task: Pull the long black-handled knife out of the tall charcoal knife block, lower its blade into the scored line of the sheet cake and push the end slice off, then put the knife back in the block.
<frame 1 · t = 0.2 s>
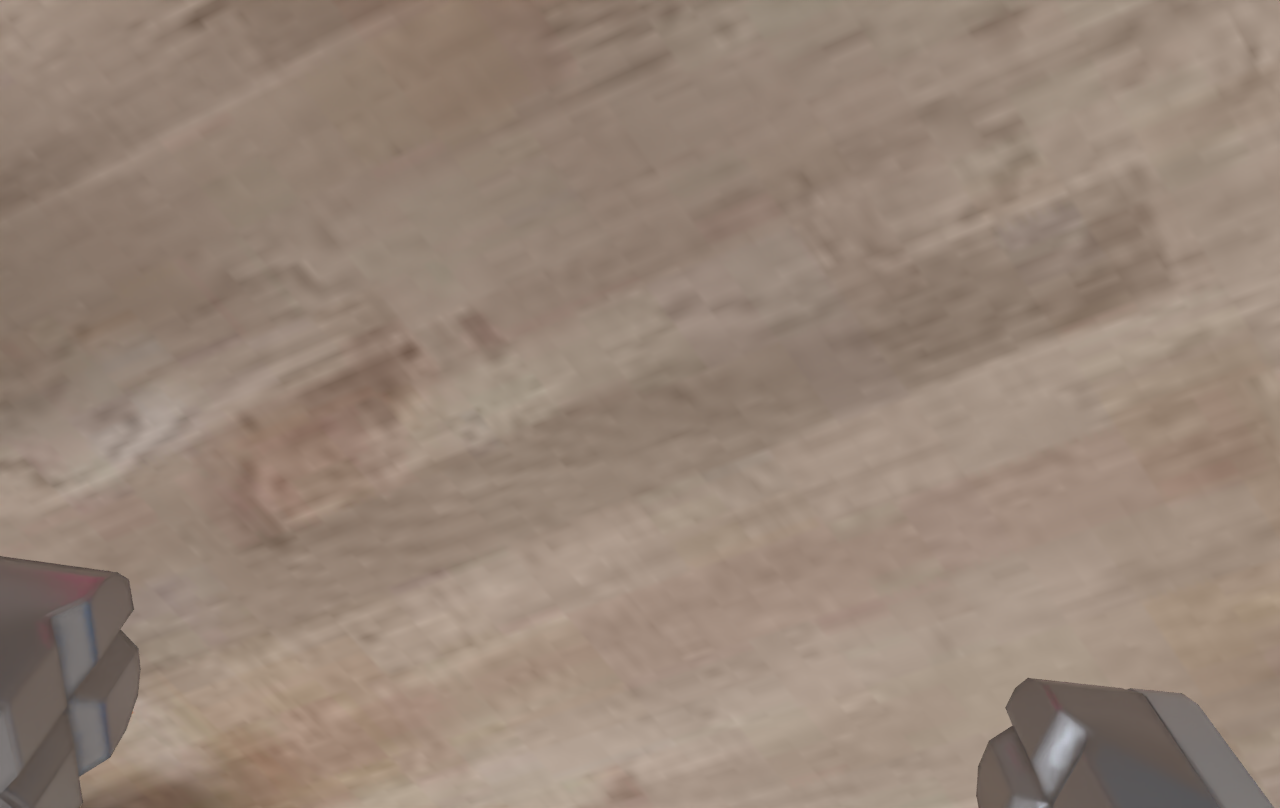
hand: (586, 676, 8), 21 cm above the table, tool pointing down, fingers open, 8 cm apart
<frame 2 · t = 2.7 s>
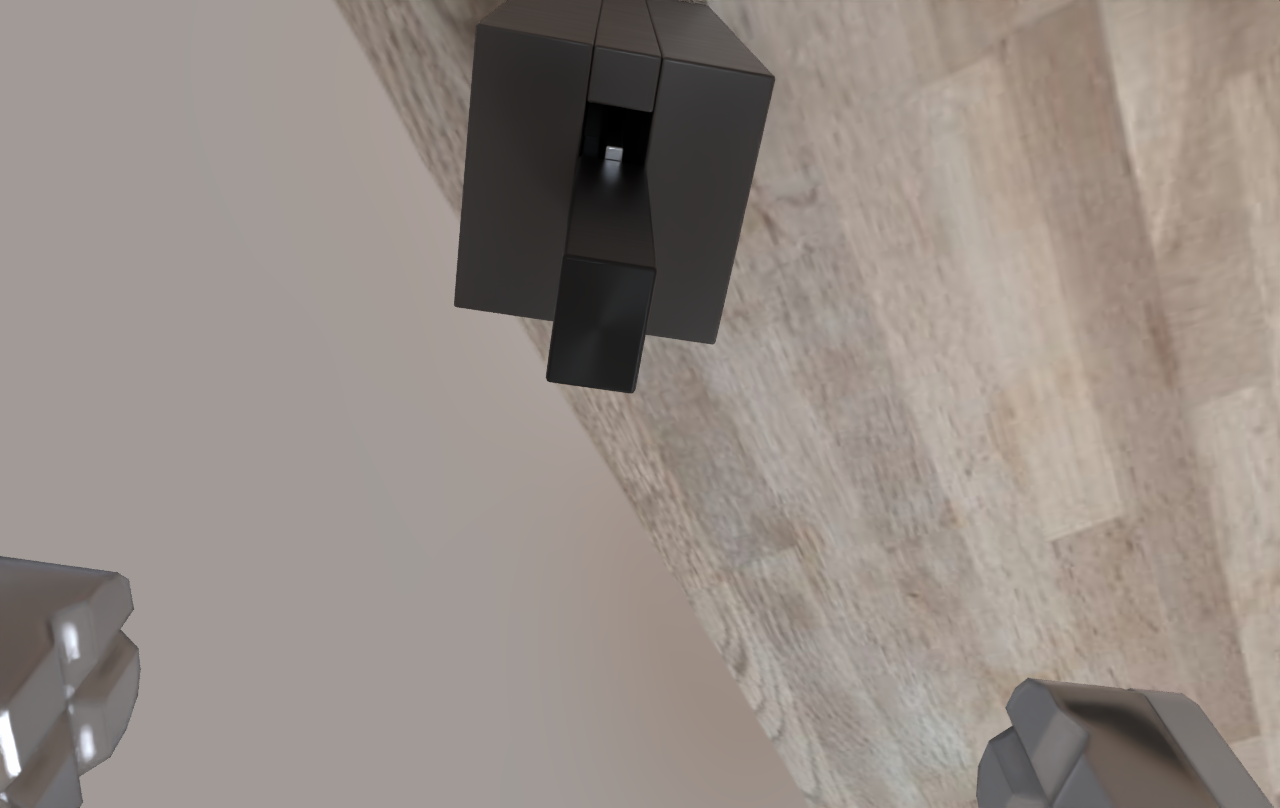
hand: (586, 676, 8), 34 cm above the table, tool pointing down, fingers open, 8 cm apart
knife: (611, 84, 38), point 1 cm above the table, touching knife block
knife block: (611, 80, 39), on the table
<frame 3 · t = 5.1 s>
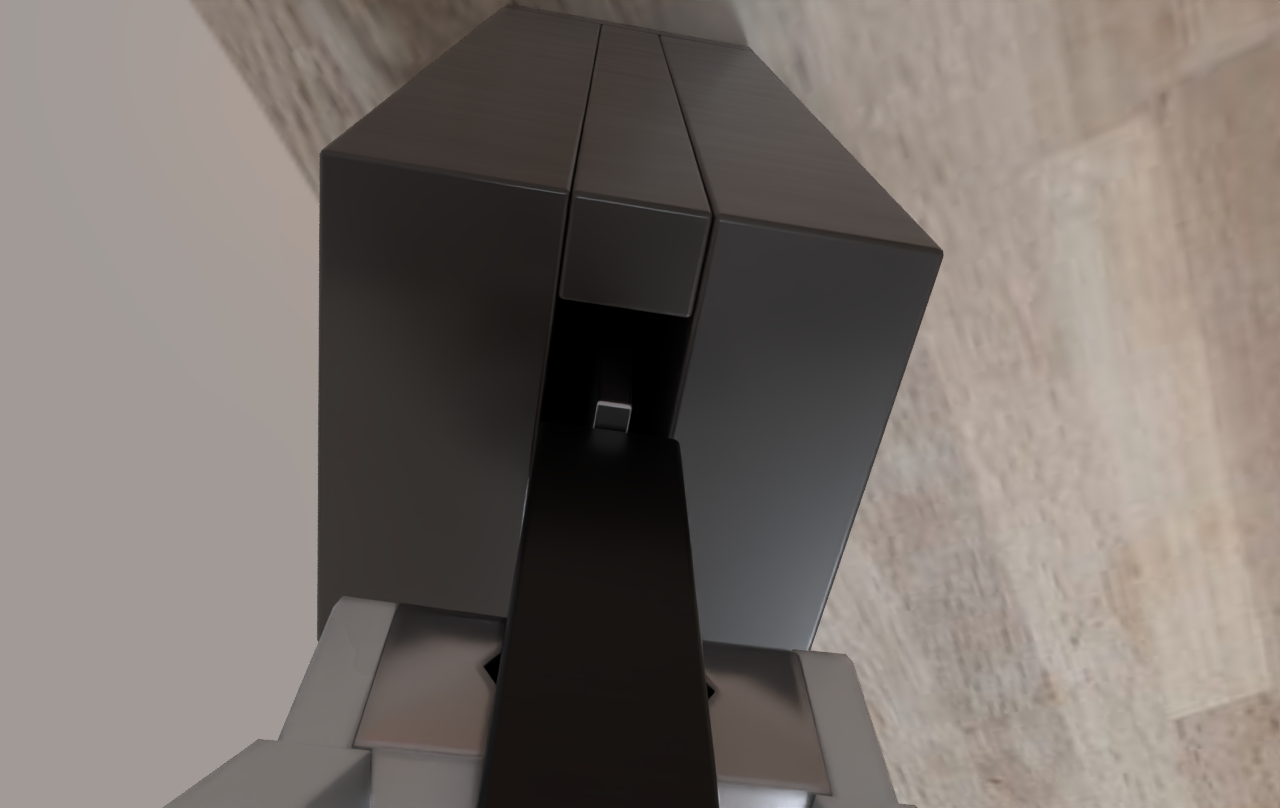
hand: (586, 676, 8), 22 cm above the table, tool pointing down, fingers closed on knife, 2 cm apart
knife: (610, 156, 27), point 1 cm above the table, touching gripper, knife block
knife block: (611, 149, 28), on the table
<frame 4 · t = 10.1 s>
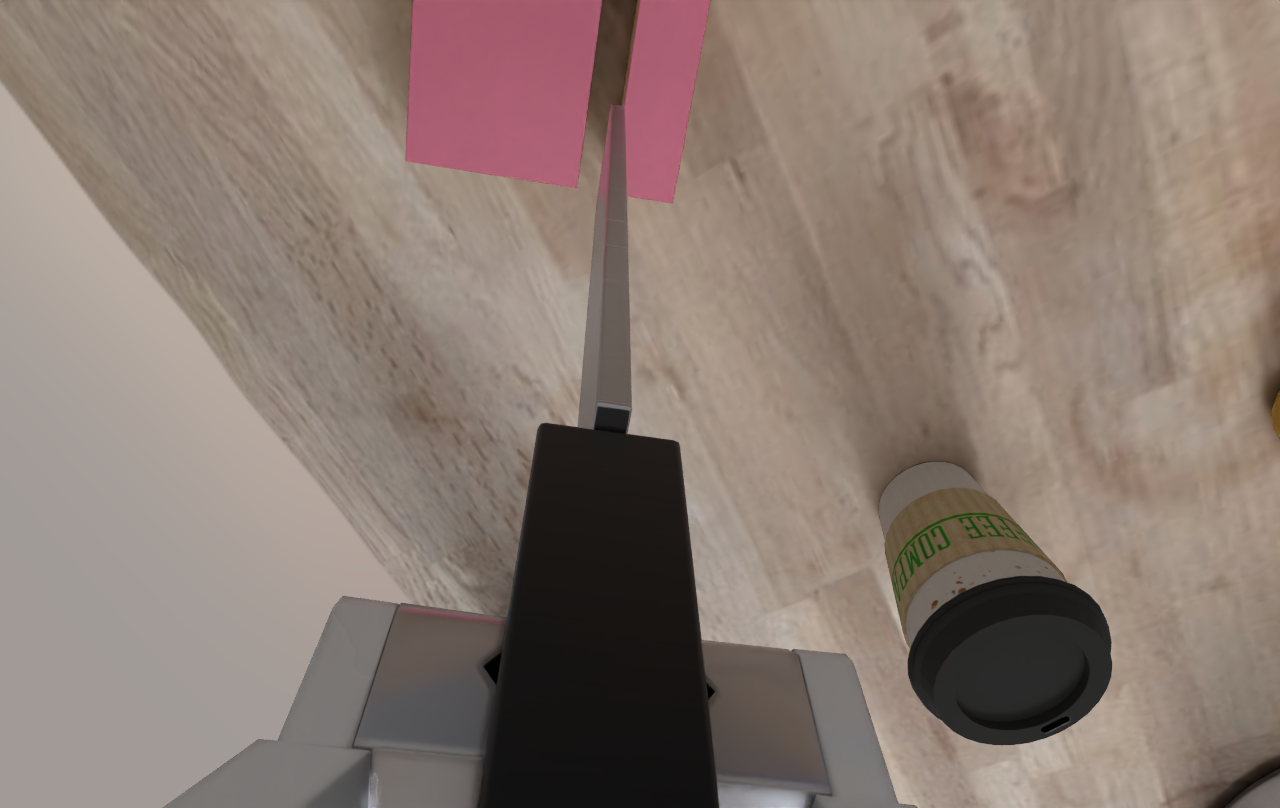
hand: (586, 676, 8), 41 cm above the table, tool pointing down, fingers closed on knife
coffee cup: (927, 502, 57), on the table
knife: (610, 157, 27), point 20 cm above the table, touching gripper
cake slice: (659, 59, 44), on the table
cake: (512, 33, 44), on the table
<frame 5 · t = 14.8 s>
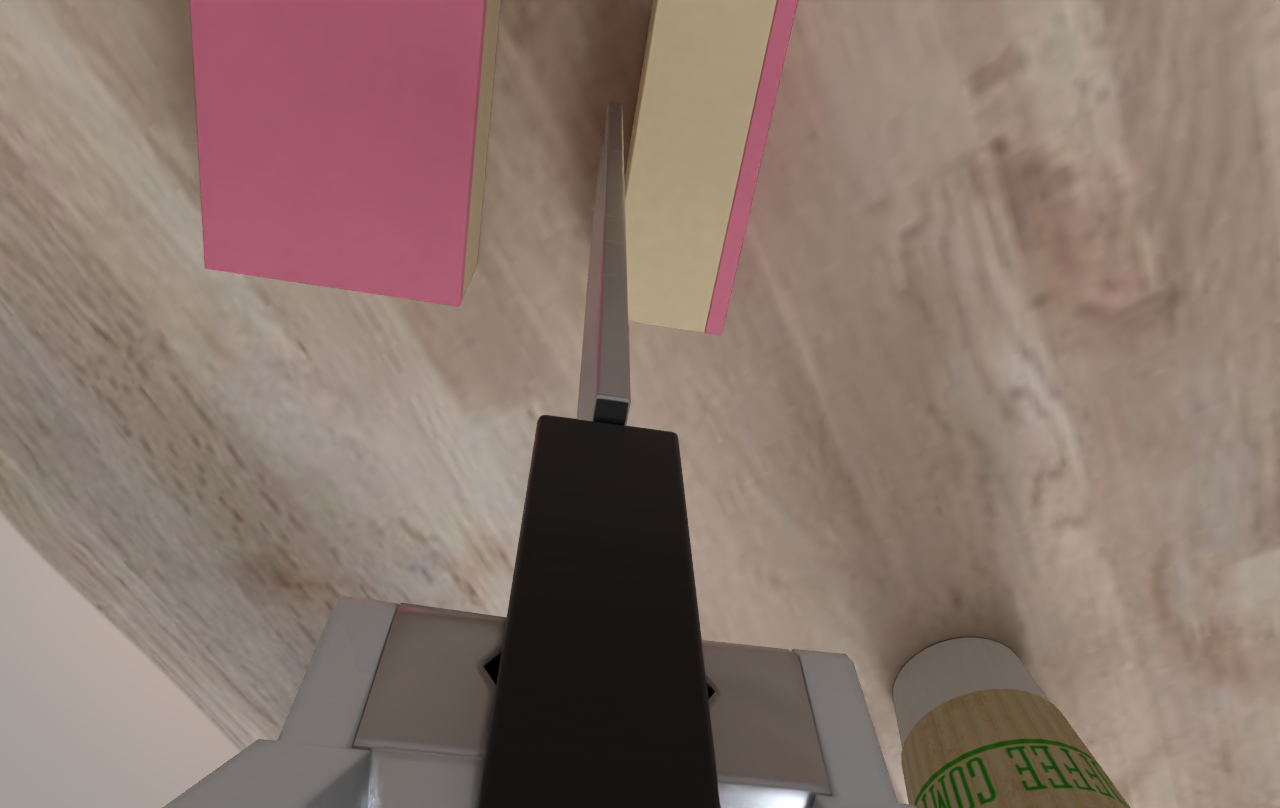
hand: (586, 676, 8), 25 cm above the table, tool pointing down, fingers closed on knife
coffee cup: (957, 683, 43), on the table
knife: (607, 154, 27), point 5 cm above the table, touching gripper
cake slice: (633, 135, 30), point 2 cm above the table, tilted 90°
cake: (369, 79, 30), on the table
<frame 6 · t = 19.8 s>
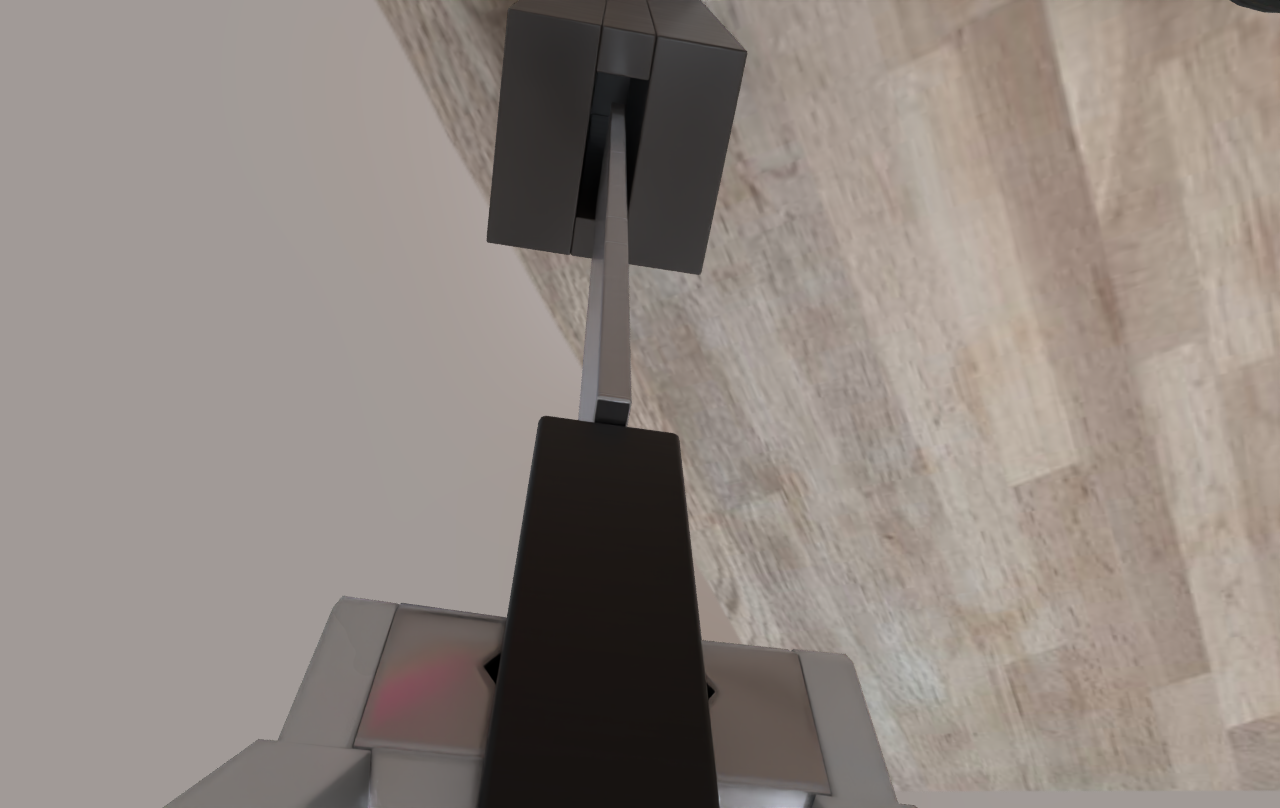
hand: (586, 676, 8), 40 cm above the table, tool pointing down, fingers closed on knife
knife: (610, 155, 27), point 19 cm above the table, touching gripper
knife block: (615, 65, 44), on the table
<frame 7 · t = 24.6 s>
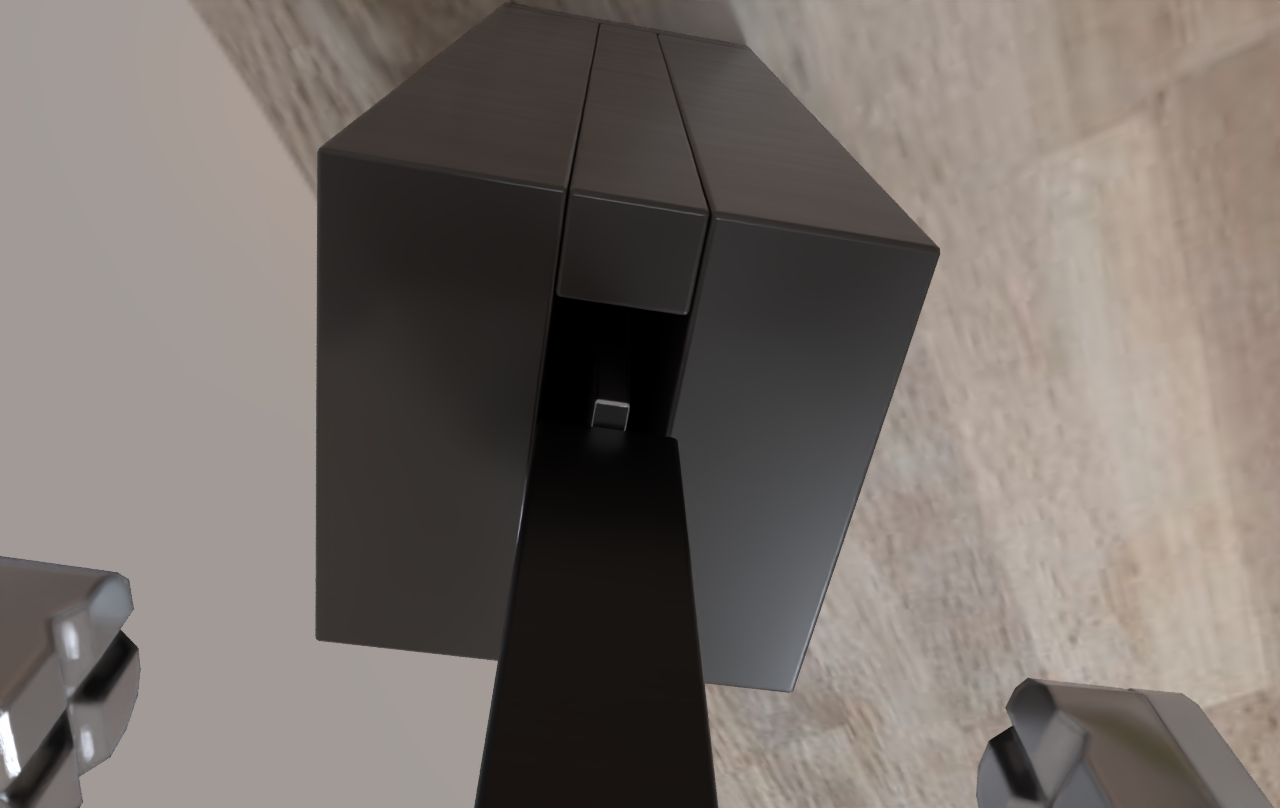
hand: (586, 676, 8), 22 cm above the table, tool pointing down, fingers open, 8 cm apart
knife: (609, 156, 27), point 1 cm above the table, touching knife block
knife block: (609, 147, 28), on the table
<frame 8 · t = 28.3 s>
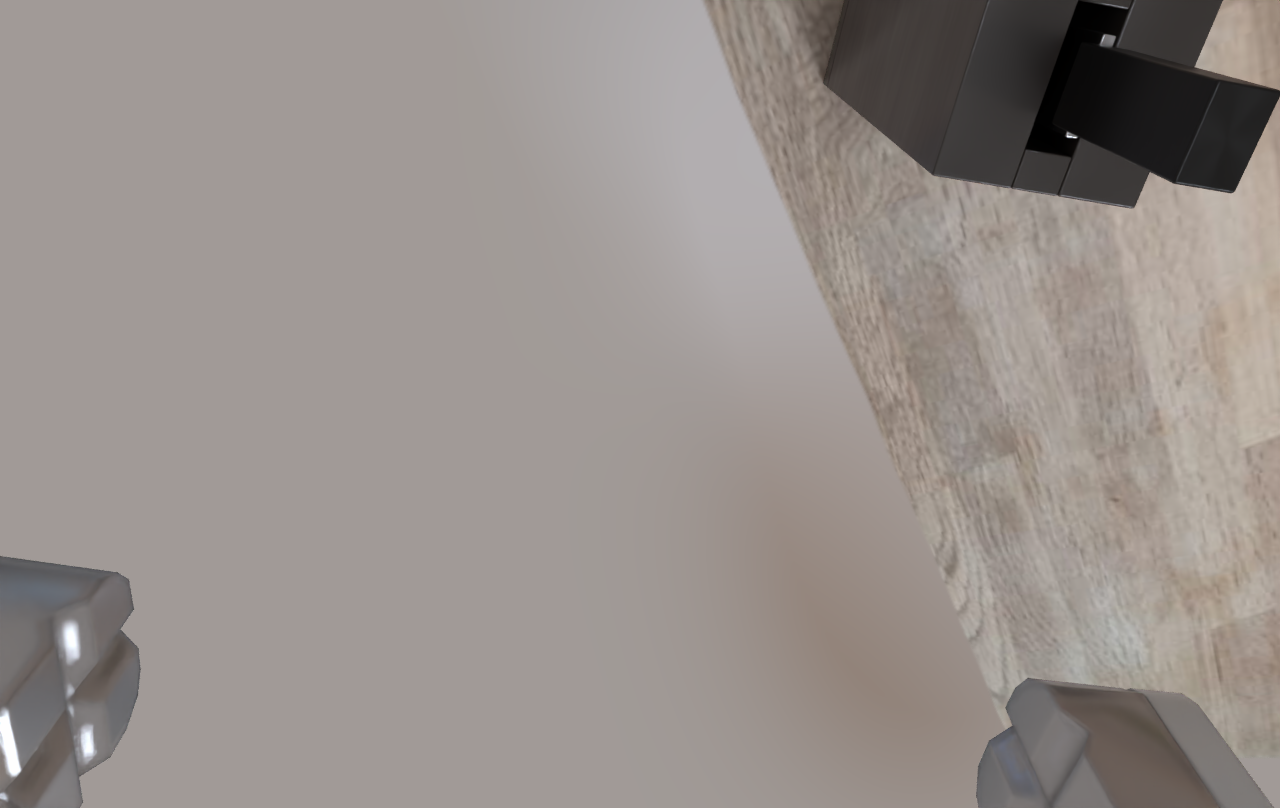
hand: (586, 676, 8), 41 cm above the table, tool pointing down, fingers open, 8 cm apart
knife: (918, 23, 43), point 1 cm above the table, touching knife block
knife block: (911, 21, 44), on the table
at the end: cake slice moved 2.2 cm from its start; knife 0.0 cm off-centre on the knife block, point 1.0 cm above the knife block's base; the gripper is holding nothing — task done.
